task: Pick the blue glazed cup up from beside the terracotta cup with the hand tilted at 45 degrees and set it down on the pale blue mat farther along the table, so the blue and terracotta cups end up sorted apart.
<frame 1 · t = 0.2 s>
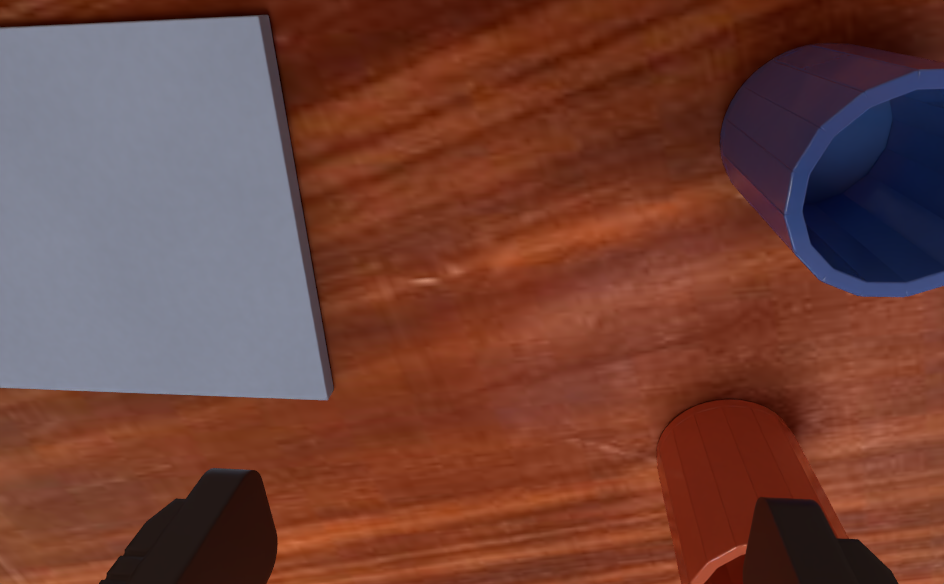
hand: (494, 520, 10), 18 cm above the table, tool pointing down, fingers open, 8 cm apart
blue mat: (108, 228, 30), on the table
terracotta cup: (723, 452, 31), on the table
blue cup: (806, 131, 24), on the table
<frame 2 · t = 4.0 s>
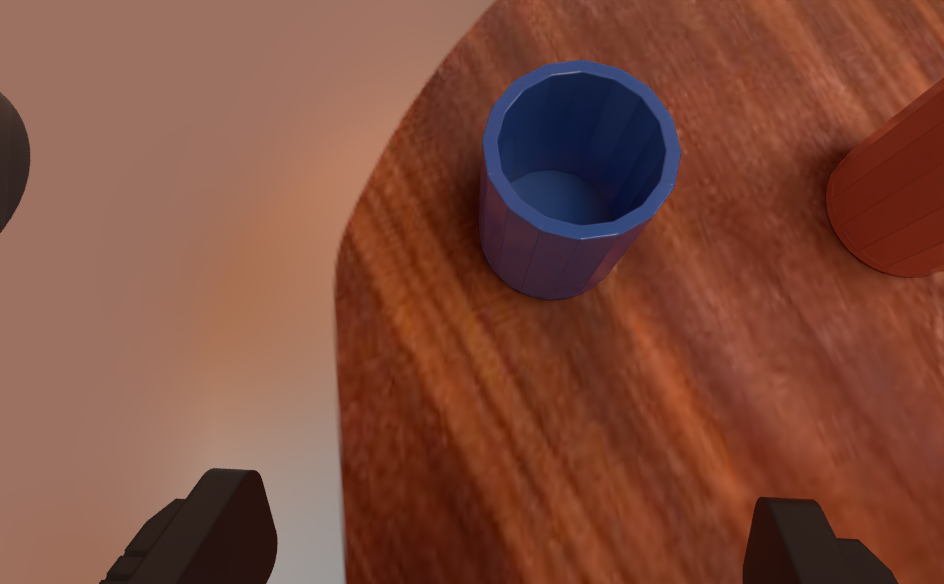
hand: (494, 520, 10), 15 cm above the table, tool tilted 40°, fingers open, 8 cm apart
terracotta cup: (897, 208, 28), on the table
blue cup: (550, 231, 28), on the table
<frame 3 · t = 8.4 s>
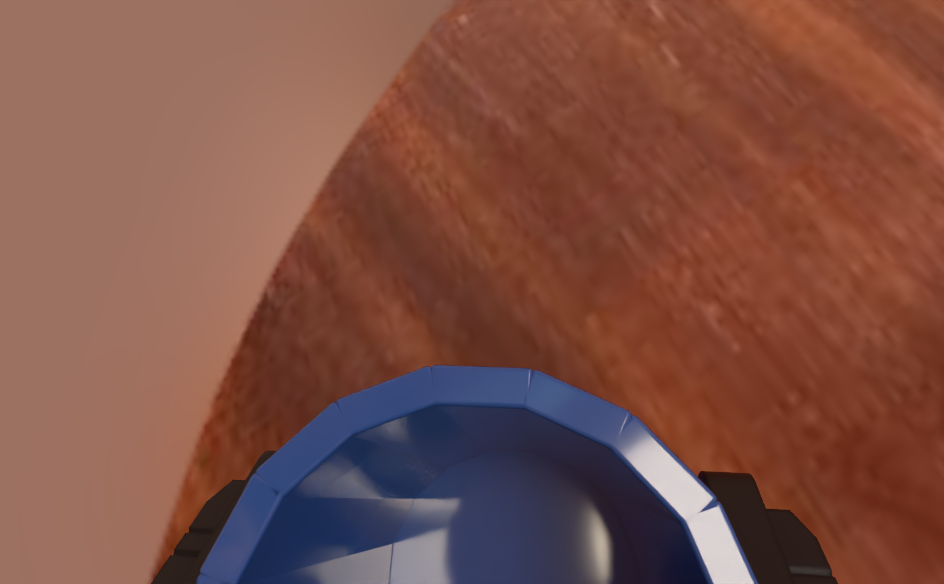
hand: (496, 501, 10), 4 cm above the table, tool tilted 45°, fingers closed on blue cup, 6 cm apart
blue cup: (512, 575, 14), on the table, touching gripper
when the fingers open (5 cm above the table, at t = 18.3 s): blue cup stays where it is, resting on blue mat.
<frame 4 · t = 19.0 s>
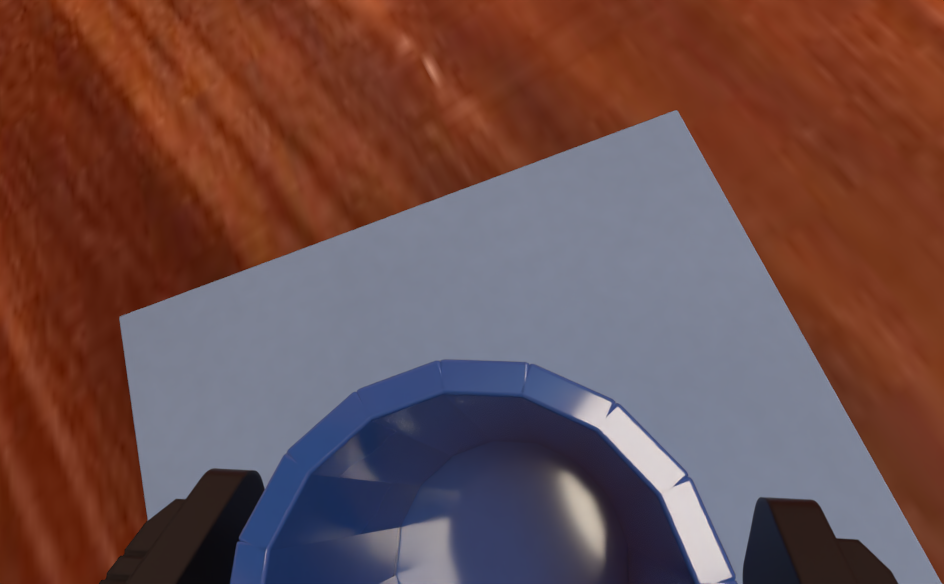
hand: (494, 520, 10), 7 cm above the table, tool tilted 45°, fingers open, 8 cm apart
blue mat: (513, 551, 16), on the table
blue cup: (512, 557, 15), point 1 cm above the table, touching blue mat
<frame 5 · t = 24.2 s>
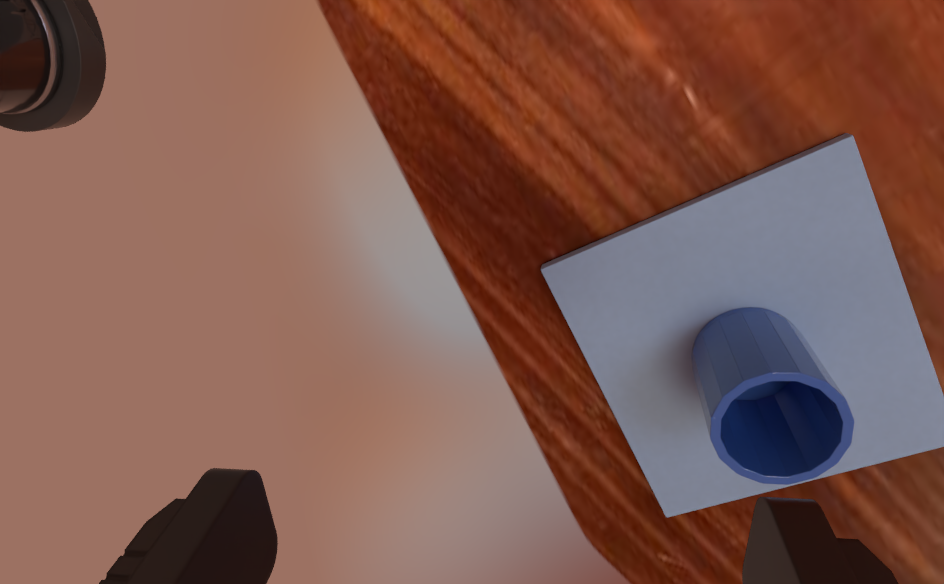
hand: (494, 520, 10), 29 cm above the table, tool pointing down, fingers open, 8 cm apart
blue mat: (742, 347, 38), on the table
blue cup: (746, 355, 37), point 1 cm above the table, touching blue mat
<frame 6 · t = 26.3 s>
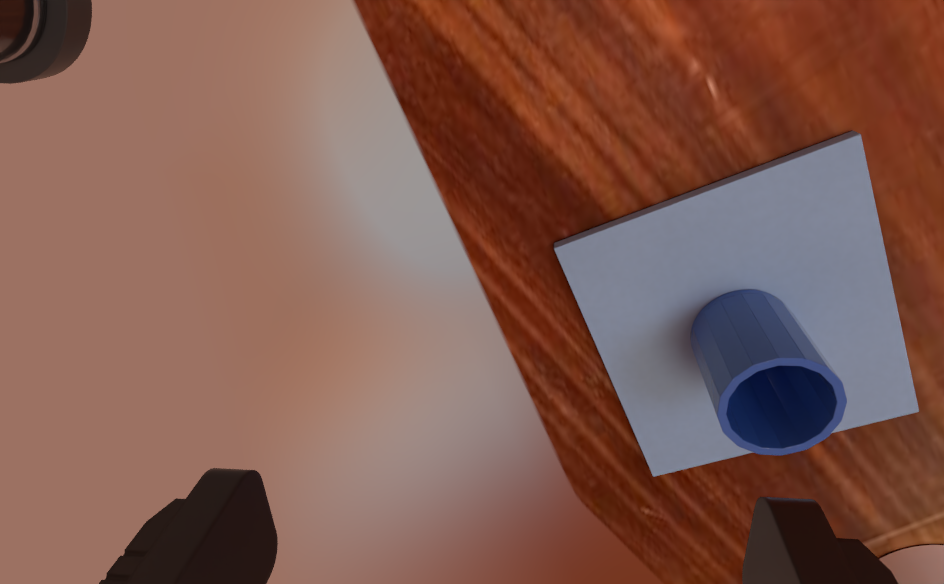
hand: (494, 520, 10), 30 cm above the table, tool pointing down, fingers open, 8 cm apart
blue mat: (736, 324, 41), on the table
blue cup: (741, 333, 40), point 1 cm above the table, touching blue mat
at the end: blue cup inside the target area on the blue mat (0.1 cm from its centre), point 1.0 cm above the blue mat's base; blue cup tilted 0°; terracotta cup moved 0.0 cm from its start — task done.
